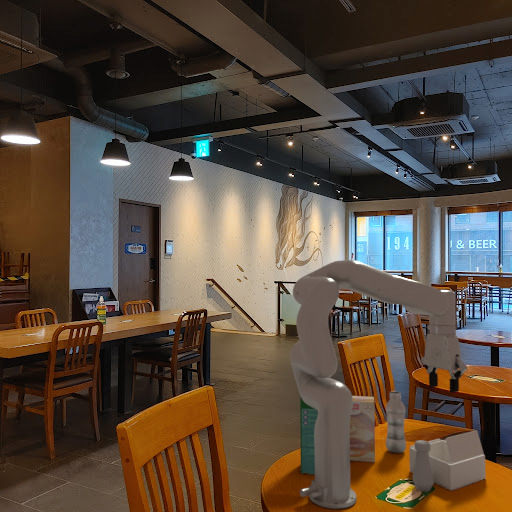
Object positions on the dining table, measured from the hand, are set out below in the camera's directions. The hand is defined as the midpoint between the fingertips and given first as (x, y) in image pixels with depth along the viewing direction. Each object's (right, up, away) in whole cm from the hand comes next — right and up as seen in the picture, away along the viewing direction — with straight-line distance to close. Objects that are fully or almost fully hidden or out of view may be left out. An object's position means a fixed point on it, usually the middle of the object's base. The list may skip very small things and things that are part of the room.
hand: (443, 388), depth 144 cm
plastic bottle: (-9, -27, +18) cm, 33 cm away
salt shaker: (-10, -26, -10) cm, 29 cm away
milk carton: (-38, -26, +4) cm, 47 cm away
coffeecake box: (-25, -27, +13) cm, 39 cm away
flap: (+3, -15, -7) cm, 17 cm away
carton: (0, -26, -2) cm, 26 cm away
